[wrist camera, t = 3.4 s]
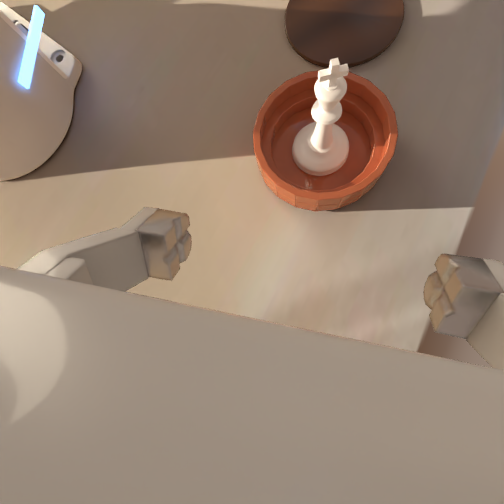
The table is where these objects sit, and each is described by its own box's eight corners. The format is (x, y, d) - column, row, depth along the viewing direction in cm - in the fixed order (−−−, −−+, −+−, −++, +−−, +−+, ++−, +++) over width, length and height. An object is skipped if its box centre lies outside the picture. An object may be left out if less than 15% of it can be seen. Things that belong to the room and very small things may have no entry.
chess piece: (287, 131, 27) (283, 36, 18) (341, 119, 27) (369, 14, 17) (297, 181, 26) (299, 110, 17) (354, 169, 26) (390, 89, 16)
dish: (233, 149, 28) (226, 130, 25) (325, 73, 28) (329, 44, 25) (313, 237, 26) (316, 228, 23) (413, 154, 26) (430, 133, 23)
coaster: (262, 20, 30) (261, 17, 30) (346, -50, 30) (347, -54, 30) (337, 90, 28) (338, 87, 27) (428, 14, 28) (430, 9, 27)
